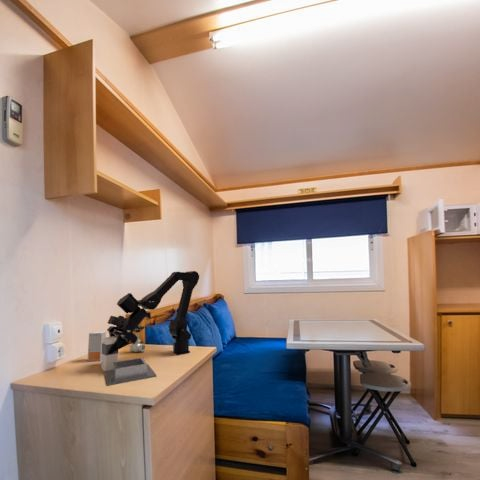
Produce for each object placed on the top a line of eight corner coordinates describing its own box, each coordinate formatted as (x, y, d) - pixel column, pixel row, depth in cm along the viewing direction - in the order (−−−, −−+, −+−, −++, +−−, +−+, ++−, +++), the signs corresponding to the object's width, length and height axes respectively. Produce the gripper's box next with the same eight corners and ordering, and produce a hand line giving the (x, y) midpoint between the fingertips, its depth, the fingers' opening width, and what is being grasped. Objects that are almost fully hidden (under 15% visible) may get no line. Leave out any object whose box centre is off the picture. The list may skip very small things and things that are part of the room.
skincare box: (87, 361, 125) (88, 333, 127) (92, 358, 130) (93, 331, 131) (100, 361, 125) (101, 332, 127) (105, 358, 129) (106, 331, 131)
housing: (147, 365, 116) (147, 355, 116) (156, 376, 102) (156, 364, 102) (104, 372, 108) (104, 361, 109) (107, 385, 94) (107, 372, 95)
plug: (113, 366, 116) (114, 336, 118) (117, 368, 113) (118, 337, 114) (101, 369, 113) (102, 338, 114) (105, 371, 109) (106, 339, 111)
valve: (139, 353, 135) (140, 328, 137) (127, 353, 137) (127, 328, 138) (146, 350, 142) (147, 325, 144) (134, 350, 143) (135, 325, 145)
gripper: (112, 307, 125) (83, 337, 116) (130, 309, 112) (99, 343, 103) (129, 323, 130) (103, 353, 120) (148, 327, 116) (121, 361, 107)
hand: (106, 352), depth 113 cm, fingers closed on plug, 5 cm apart
